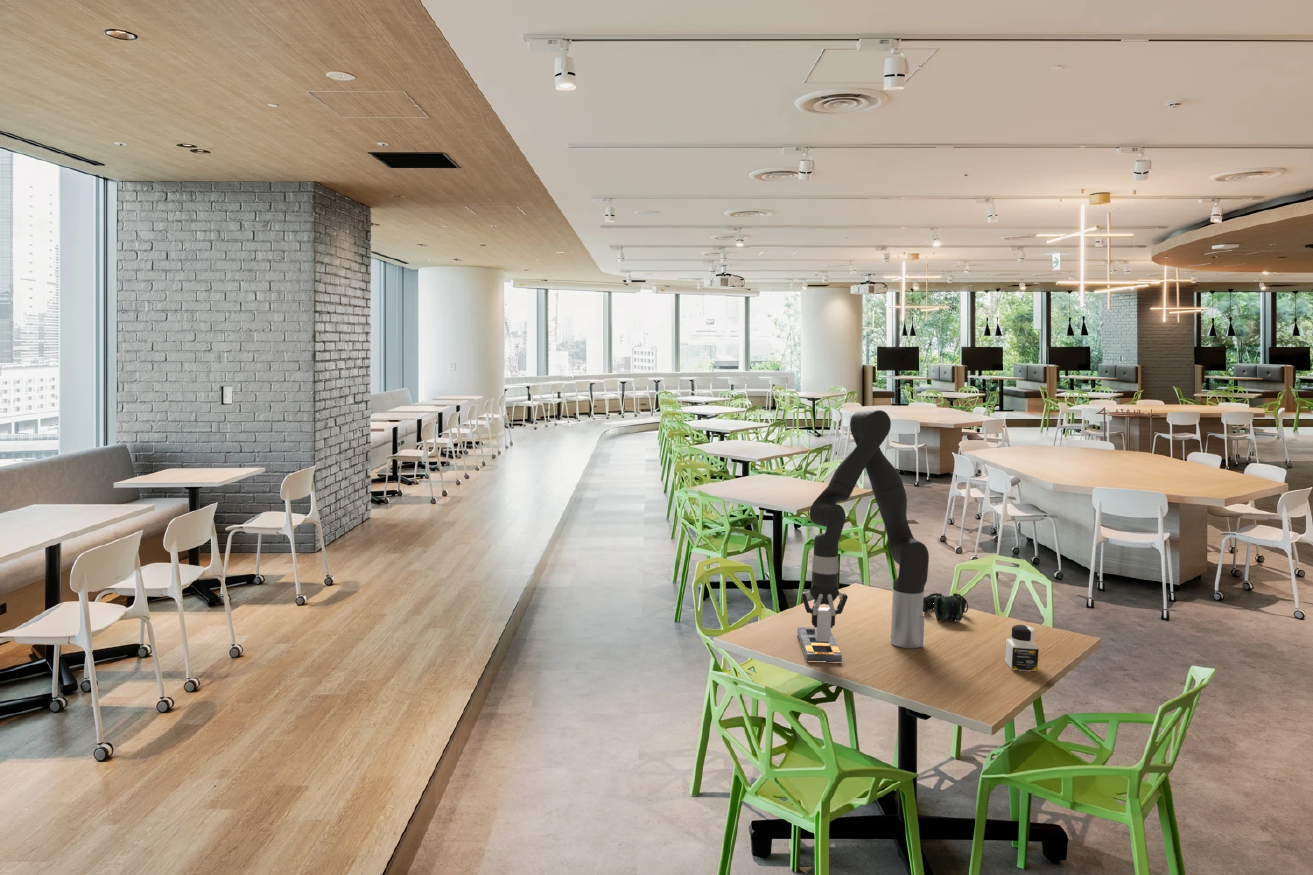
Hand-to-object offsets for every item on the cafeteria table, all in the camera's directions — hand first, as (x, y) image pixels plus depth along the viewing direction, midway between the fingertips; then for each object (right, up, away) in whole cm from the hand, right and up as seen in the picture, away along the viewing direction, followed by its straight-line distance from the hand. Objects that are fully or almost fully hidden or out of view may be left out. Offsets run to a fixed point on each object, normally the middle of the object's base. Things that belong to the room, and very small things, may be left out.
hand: (822, 626), depth 251 cm
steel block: (0, -4, 0) cm, 4 cm away
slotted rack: (0, -9, +9) cm, 12 cm away
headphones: (+50, -7, +44) cm, 67 cm away
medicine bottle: (+57, -11, -4) cm, 58 cm away
